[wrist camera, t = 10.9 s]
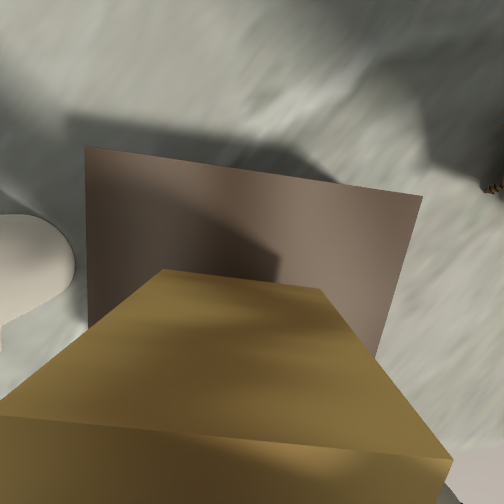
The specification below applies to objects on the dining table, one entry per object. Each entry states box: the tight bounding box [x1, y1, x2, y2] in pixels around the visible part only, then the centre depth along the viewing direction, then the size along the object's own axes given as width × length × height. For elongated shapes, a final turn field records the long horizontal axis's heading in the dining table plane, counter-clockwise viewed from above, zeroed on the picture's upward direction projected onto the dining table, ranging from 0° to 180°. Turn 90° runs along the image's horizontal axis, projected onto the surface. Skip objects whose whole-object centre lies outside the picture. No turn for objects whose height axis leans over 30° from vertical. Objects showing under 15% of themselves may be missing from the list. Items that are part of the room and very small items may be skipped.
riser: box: [85, 146, 423, 358], centre depth 14 cm, size 14×14×6 cm
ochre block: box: [0, 269, 454, 504], centre depth 7 cm, size 6×6×6 cm
